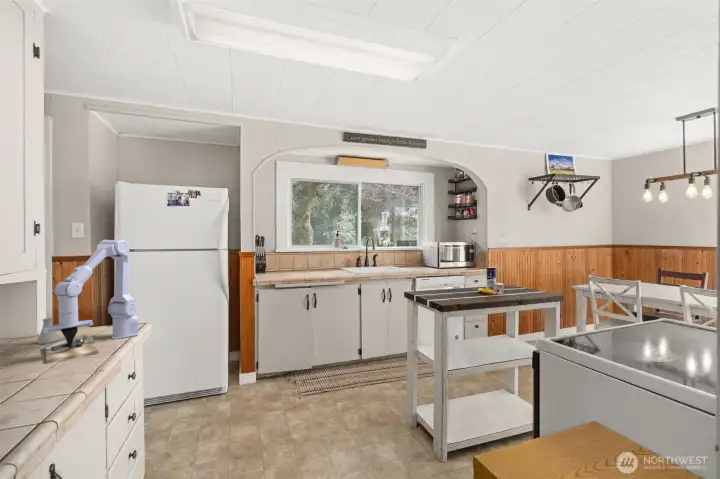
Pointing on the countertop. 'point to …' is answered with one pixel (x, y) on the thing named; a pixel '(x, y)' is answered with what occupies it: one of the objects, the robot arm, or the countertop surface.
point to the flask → (47, 337)
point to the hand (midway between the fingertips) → (69, 347)
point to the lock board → (71, 350)
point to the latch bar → (65, 345)
